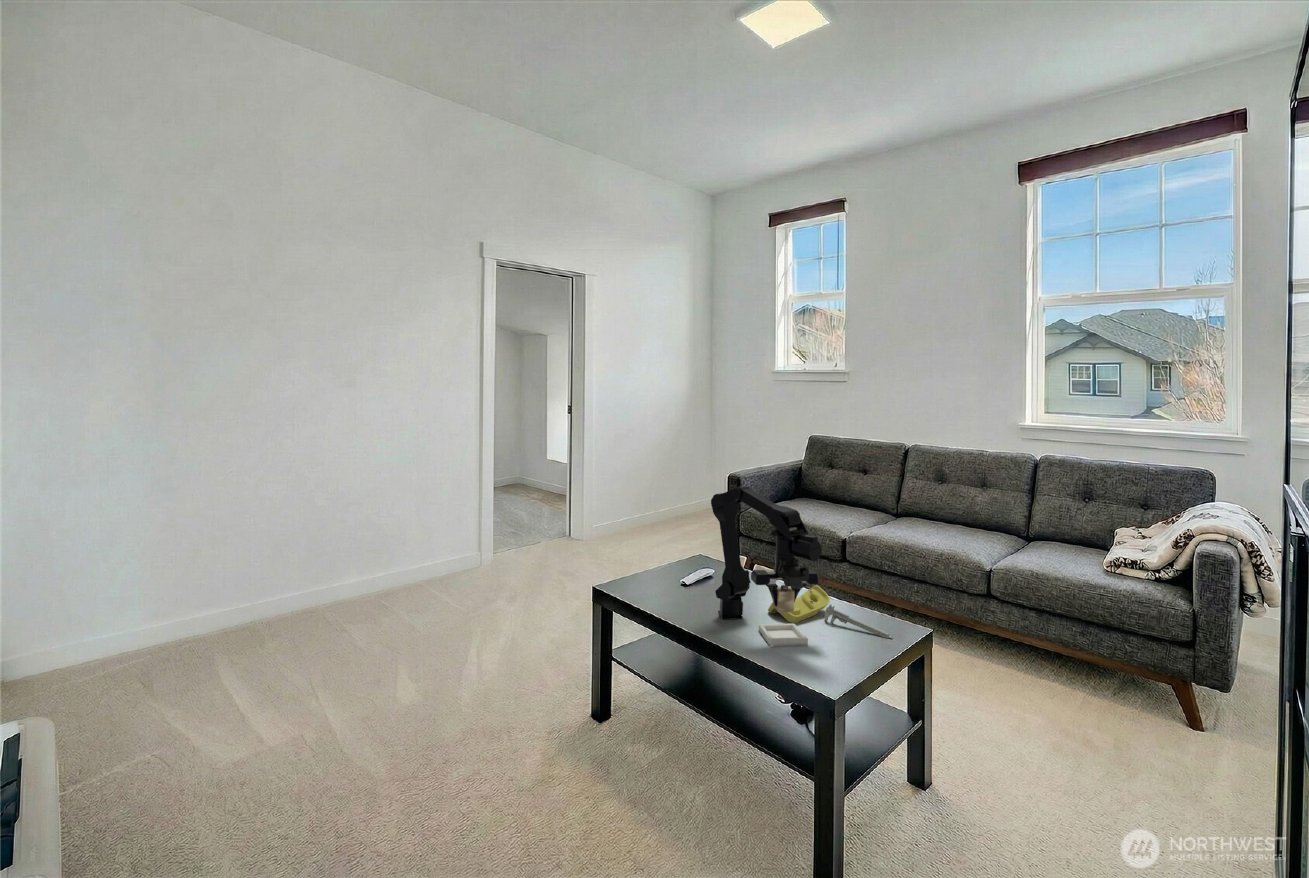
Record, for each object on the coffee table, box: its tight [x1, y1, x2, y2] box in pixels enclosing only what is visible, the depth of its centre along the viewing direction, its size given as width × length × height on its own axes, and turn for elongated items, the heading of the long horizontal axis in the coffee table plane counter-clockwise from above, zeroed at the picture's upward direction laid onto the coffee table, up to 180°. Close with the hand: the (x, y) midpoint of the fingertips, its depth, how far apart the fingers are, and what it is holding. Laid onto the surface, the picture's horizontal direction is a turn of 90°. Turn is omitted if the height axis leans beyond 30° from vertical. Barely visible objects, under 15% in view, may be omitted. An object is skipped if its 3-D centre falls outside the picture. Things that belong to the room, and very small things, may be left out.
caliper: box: [824, 603, 893, 639], centre depth 181 cm, size 20×1×6 cm, turn 54°
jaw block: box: [774, 584, 795, 613], centre depth 173 cm, size 4×4×7 cm
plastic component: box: [767, 584, 831, 624], centre depth 194 cm, size 20×7×10 cm
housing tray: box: [758, 623, 809, 648], centre depth 174 cm, size 11×11×2 cm
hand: (783, 605), depth 174 cm, fingers closed on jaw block, 4 cm apart
